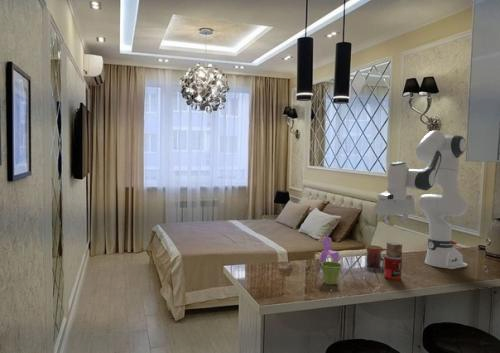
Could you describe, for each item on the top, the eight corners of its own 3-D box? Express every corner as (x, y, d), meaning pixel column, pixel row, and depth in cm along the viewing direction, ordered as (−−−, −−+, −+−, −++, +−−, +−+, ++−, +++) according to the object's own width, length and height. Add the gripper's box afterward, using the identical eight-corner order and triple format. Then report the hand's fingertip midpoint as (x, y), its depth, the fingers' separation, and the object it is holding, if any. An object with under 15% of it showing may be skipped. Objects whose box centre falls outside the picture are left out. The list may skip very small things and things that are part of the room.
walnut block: (394, 254, 193) (395, 242, 193) (401, 256, 188) (402, 244, 188) (386, 254, 191) (386, 242, 191) (392, 257, 187) (393, 244, 186)
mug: (366, 267, 207) (367, 248, 207) (363, 263, 216) (364, 244, 215) (389, 268, 206) (390, 249, 206) (385, 264, 215) (386, 245, 214)
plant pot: (337, 287, 174) (337, 268, 173) (317, 283, 179) (317, 264, 178) (343, 282, 182) (344, 263, 181) (324, 278, 187) (325, 260, 186)
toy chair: (330, 268, 204) (331, 239, 203) (317, 264, 211) (318, 237, 210) (340, 265, 210) (341, 238, 209) (327, 262, 216) (328, 235, 215)
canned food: (393, 281, 185) (394, 258, 184) (380, 276, 192) (381, 254, 192) (404, 279, 189) (405, 256, 188) (391, 274, 196) (392, 253, 195)
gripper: (409, 194, 194) (408, 221, 195) (374, 194, 188) (373, 223, 189) (418, 195, 188) (417, 224, 189) (382, 196, 182) (381, 225, 183)
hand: (395, 223), depth 189 cm, fingers open, 8 cm apart
